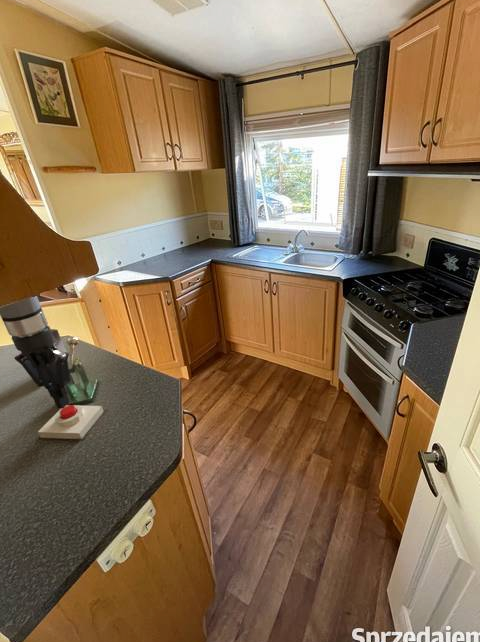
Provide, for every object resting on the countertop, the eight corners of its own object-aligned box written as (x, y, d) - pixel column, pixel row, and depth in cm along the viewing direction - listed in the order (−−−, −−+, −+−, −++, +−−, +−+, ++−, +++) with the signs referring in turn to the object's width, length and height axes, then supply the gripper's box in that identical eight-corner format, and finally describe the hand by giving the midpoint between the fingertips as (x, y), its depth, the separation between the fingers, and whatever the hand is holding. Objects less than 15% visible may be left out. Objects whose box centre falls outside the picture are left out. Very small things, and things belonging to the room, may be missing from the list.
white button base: (40, 437, 79) (34, 427, 77) (66, 410, 88) (62, 400, 86) (81, 439, 78) (76, 428, 76) (103, 411, 87) (99, 401, 85)
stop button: (58, 419, 80) (56, 414, 79) (68, 409, 83) (65, 405, 82) (70, 419, 80) (68, 414, 79) (79, 410, 83) (77, 405, 82)
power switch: (71, 388, 97) (58, 356, 92) (98, 382, 100) (86, 351, 94) (63, 408, 89) (47, 374, 83) (92, 401, 91) (79, 368, 86)
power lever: (69, 341, 97) (65, 335, 95) (80, 339, 98) (76, 333, 96) (66, 374, 89) (61, 369, 87) (77, 372, 90) (73, 367, 88)
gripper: (66, 323, 72) (94, 396, 83) (18, 322, 74) (52, 394, 84) (43, 338, 66) (76, 416, 76) (-10, 338, 67) (30, 414, 77)
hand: (63, 404), depth 80 cm, fingers closed
